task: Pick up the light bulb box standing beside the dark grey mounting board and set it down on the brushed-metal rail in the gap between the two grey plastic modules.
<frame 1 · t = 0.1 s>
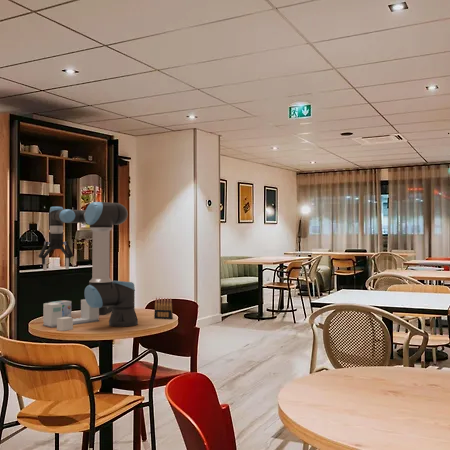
hand: (56, 269, 299), 28 cm above the table, tool pointing down, fingers open, 13 cm apart
ammunition clip: (163, 319, 292), on the table
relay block: (64, 329, 259), on the table
light bulb box: (60, 321, 287), on the table
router: (102, 313, 316), on the table
rail assembly: (71, 323, 278), on the table
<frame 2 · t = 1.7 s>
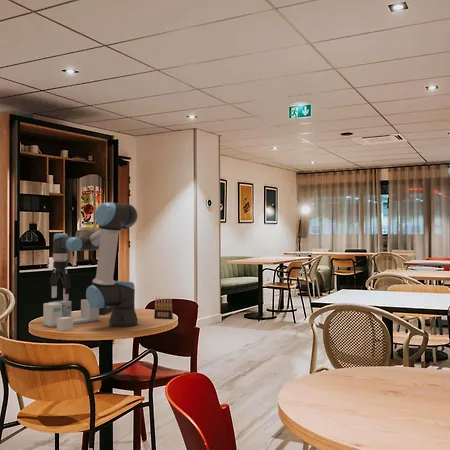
hand: (59, 298, 288), 12 cm above the table, tool pointing down, fingers open, 13 cm apart
nothing on the table moved.
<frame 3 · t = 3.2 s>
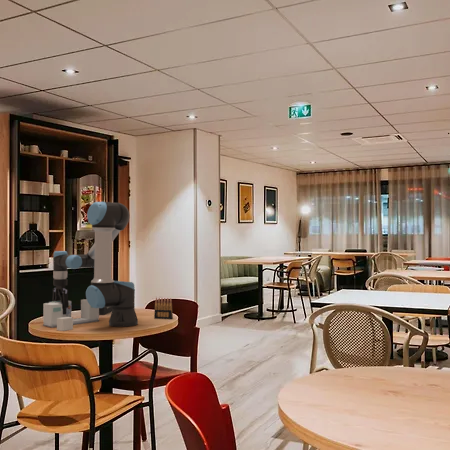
hand: (60, 319, 288), 1 cm above the table, tool pointing down, fingers closed on light bulb box, 7 cm apart
light bulb box: (60, 320, 288), on the table, touching gripper
everything else where it was.
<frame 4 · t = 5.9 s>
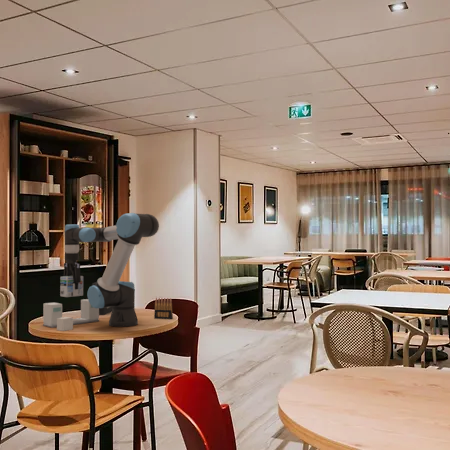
hand: (71, 294, 279), 15 cm above the table, tool pointing down, fingers closed on light bulb box, 7 cm apart
light bulb box: (71, 296, 279), point 15 cm above the table, touching gripper
everything else where it was.
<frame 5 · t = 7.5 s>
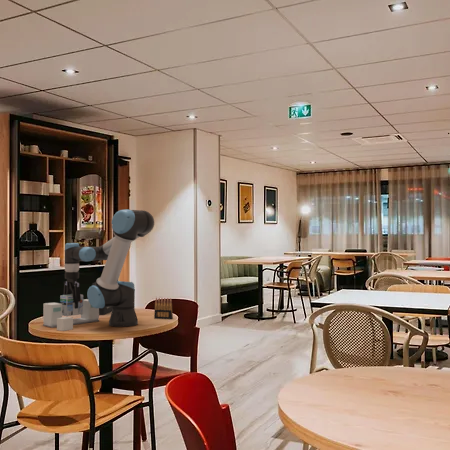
hand: (71, 313, 279), 5 cm above the table, tool pointing down, fingers closed on light bulb box, 7 cm apart
light bulb box: (71, 315, 279), point 4 cm above the table, touching gripper
everything else where it was.
when the fingers open (4 cm above the table, at t = 8.7 s): light bulb box drops 1 cm, resting on rail assembly.
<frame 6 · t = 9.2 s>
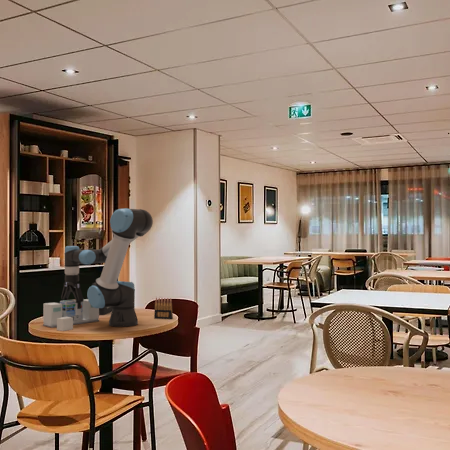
hand: (71, 313, 278), 5 cm above the table, tool pointing down, fingers open, 13 cm apart
light bulb box: (71, 320, 279), point 1 cm above the table, touching rail assembly
everything else where it was.
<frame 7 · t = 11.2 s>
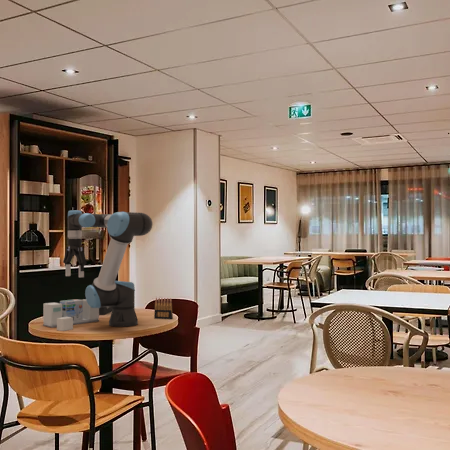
hand: (74, 276, 284), 25 cm above the table, tool pointing down, fingers open, 13 cm apart
nothing on the table moved.
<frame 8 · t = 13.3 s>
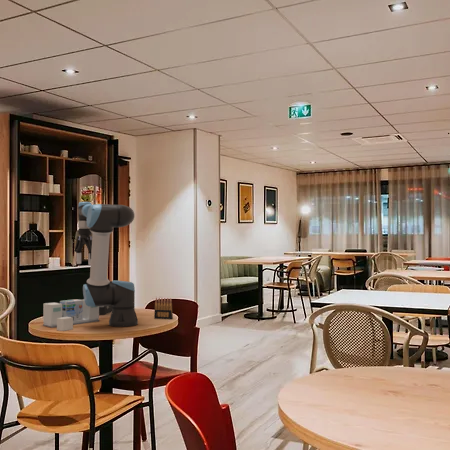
hand: (84, 264, 302), 31 cm above the table, tool pointing down, fingers open, 13 cm apart
nothing on the table moved.
at the end: light bulb box inside the target area on the rail assembly (0.3 cm from its centre), point 1.4 cm above the rail assembly's base; light bulb box tilted 0°; the gripper is holding nothing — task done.
